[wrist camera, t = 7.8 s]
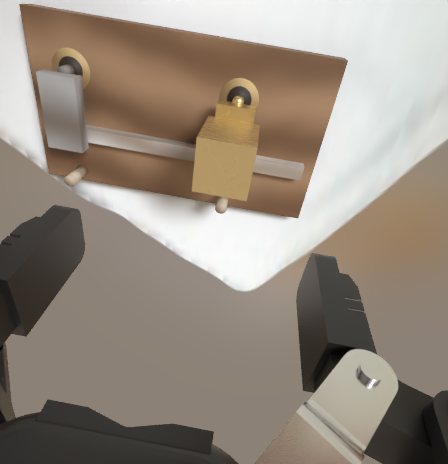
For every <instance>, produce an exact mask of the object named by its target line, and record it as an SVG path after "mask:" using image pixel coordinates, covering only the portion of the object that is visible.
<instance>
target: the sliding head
mask: <svg viewBox="0 0 448 464" xmlns="http://www.w3.org/2000/svg"><path fill="white" fill-rule="evenodd" d="M256 107H257V106H251V105H246V104H244V98H243V96H242V95H239V94H238V95H235V96H234V98H233V100H232V102H228V101H223V100H218V102H217V105H216V113H215V117H213V116H208V118H207V120H206V121H205V123H204V125H203V127H202V129H201V130H200V132H199V134H198V136H197V139H196V150H195V161H194V171H193V182H192V191H193V192H198V193H204V194H209V195H215V196H220V197H226V198H231V199H237V200H242V201H247V197H248V192H249V188H250V183H251V178H252V173H253V168H254V163H255V158H256V153H257V149H258V139H259V129H260V125H258V124H254V118H255V113H256Z"/></svg>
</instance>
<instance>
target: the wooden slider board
mask: <svg viewBox="0 0 448 464" xmlns="http://www.w3.org/2000/svg"><path fill="white" fill-rule="evenodd" d="M19 5H20V10H21V16H22V22H23V27H24V33H25V39H26V45H27V50H28V56H29V62H30V67H31V73H32V79H33V84H34V90H35V96H36V101H37V107H38V113H39V118H40V124H41V130H42V135H43V141H44V147H45V152H46V158H47V164H48V169H49V173H51V174H57V175H62V176H66V177H65V179H64V180H65V183H66V184H67V185H69V186H74V185H75V184H76V183H77V182H78V181H79V180H81V179H84V180H90V181H95V182H101V183H106V184H112V185H117V186H123V187H128V188H134V189H139V190H145V191H150V192H156V193H161V194H167V195H172V196H178V197H183V198H189V199H194V200H200V201H205V202H211V203H216V207H215V210H216V211H217V212H218V213H224V212H225V211H226V208H227V206H233V207H238V208H244V209H250V210H255V211H261V212H266V213H272V214H277V215H283V216H288V217H294V218H298V217H299V213H300V210H301V207H302V204H303V201H304V198H305V194H306V191H307V188H308V185H309V182H310V179H311V175H312V172H313V169H314V166H315V163H316V160H317V157H318V153H319V150H320V147H321V144H322V141H323V138H324V134H325V131H326V128H327V125H328V122H329V119H330V116H331V112H332V109H333V106H334V103H335V100H336V97H337V93H338V90H339V87H340V84H341V81H342V78H343V74H344V71H345V68H346V65H347V62H348V61H347V60H346V59H345V58H341V57H335V56H329V55H323V54H317V53H312V52H306V51H300V50H294V49H288V48H283V47H277V46H271V45H265V44H259V43H254V42H248V41H242V40H236V39H230V38H225V37H219V36H213V35H207V34H201V33H196V32H190V31H184V30H178V29H172V28H167V27H161V26H155V25H149V24H143V23H138V22H132V21H126V20H120V19H114V18H109V17H103V16H97V15H91V14H85V13H80V12H74V11H68V10H62V9H56V8H51V7H45V6H39V5H33V4H19ZM238 94H239V95H242V96H243V98H244V104H246V105H251V106H257V107H256V113H255V118H254V124H258V125H260V129H259V139H258V149H257V153H256V158H255V163H254V168H253V173H252V178H251V183H250V188H249V192H248V197H247V201H242V200H237V199H231V198H226V197H220V196H215V195H209V194H204V193H198V192H193V191H192V182H193V171H194V161H195V150H196V139H197V136H198V134H199V132H200V130H201V129H202V127H203V125H204V123H205V121H206V120H207V118H208V116H213V117H215V113H216V105H217V102H218V100H223V101H228V102H232V100H233V98H234V96H235V95H238Z"/></svg>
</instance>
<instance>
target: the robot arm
mask: <svg viewBox="0 0 448 464" xmlns="http://www.w3.org/2000/svg"><path fill="white" fill-rule="evenodd" d="M84 250H85V242H84V235H83V228H82V222H81V214H80V211H79V210H78V209H74V208H69V207H63V206H58V205H54V206H52V207H51V208H50V209H49V210H48V211H47V212H46V213H45V214H44V215H43V216H42V217H34V218H32V219H30V220H28V221H26V222H24V223H22V224H21V225H19V226H18V227H17V228H16V229H15V230H14V231H13V232H12V233H11V234H10V236H7V237H6V238H5V239H4V240H3V241H2V242H1V244H0V464H238V463H237V462H236V461H235V460H234V459H233V458H232V457H231V456H230V455H228V454H227V453H226V452H224V451H223V450H222V449H220V448H218V447H217V446H215V445H213V444H212V440H213V433H214V432H213V431H208V430H202V429H197V428H192V427H187V426H182V425H177V424H164V425H151V426H140V427H125V426H122V425H120V424H118V423H117V422H115V421H113V420H111V419H109V418H107V417H105V416H103V415H102V414H100V413H98V412H96V411H94V410H92V409H90V408H88V407H84V406H78V405H74V404H68V403H63V402H58V401H52V400H47V402H46V404H45V405H44V407H43V409H42V411H41V412H40V413H39V412H38V413H33V414H28V415H24V416H21V417H17V418H16V417H15V413H14V409H13V405H12V400H11V392H10V380H9V371H8V360H7V348H6V344H5V341H6V340H7V338H8V337H9V336H10V334H16V335H21V336H27V335H28V334H29V332H30V331H31V329H32V328H33V327H34V325H35V324H36V322H37V321H38V320H39V318H40V317H41V316H42V314H43V313H44V311H45V310H46V309H47V307H48V306H49V304H50V303H51V301H52V300H53V299H54V298H55V296H56V295H57V293H58V292H59V291H60V289H61V288H62V286H63V285H64V284H65V282H66V281H67V280H68V278H69V277H70V275H71V274H72V272H73V271H74V270H75V268H76V267H77V266H78V264H79V263H80V261H81V260H82V257H83V255H84ZM296 302H297V316H298V330H299V343H300V357H301V369H302V384H303V391H308V392H313V393H314V394H313V396H312V397H311V398H310V399H309V401H308V402H307V403H304V404H302V406H301V407H300V408H299V409H298V410H297V411H296V413H295V414H294V415H293V416H292V418H291V419H290V420H289V421H288V423H287V424H286V425H285V426H284V428H283V429H282V430H281V431H280V433H279V434H278V435H277V436H276V438H275V439H274V440H273V441H272V443H271V444H270V445H269V446H268V447H267V449H266V450H265V451H264V452H263V454H262V455H261V456H260V457H259V459H258V460H257V461H256V462H255V464H362V462H363V460H364V455H363V453H364V454H366V455H368V456H370V457H371V458H373V459H375V460H377V461H379V462H381V463H382V464H448V391H441V392H440V393H438V394H437V395H436V396H435V397H434V398H433V397H431V396H429V395H426V394H424V393H422V392H420V391H418V390H416V389H414V388H412V387H410V386H408V385H406V384H404V383H402V382H401V381H399V380H398V379H397V377H396V375H395V373H394V371H393V369H392V368H391V367H390V366H389V365H388V363H387V362H386V361H385V360H384V359H382V358H381V357H380V356H378V355H377V353H376V349H375V346H374V342H373V339H372V335H371V332H370V328H369V325H368V321H367V318H366V314H365V313H364V308H363V304H362V302H361V297H360V294H359V290H358V287H357V286H356V284H355V283H354V282H353V280H352V279H351V278H350V276H349V275H346V274H342V273H339V269H338V266H337V261H336V258H335V257H332V256H327V255H321V254H316V253H312V254H311V255H310V257H309V260H308V262H307V265H306V268H305V270H304V273H303V276H302V278H301V281H300V284H299V287H298V291H297V301H296Z"/></svg>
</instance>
